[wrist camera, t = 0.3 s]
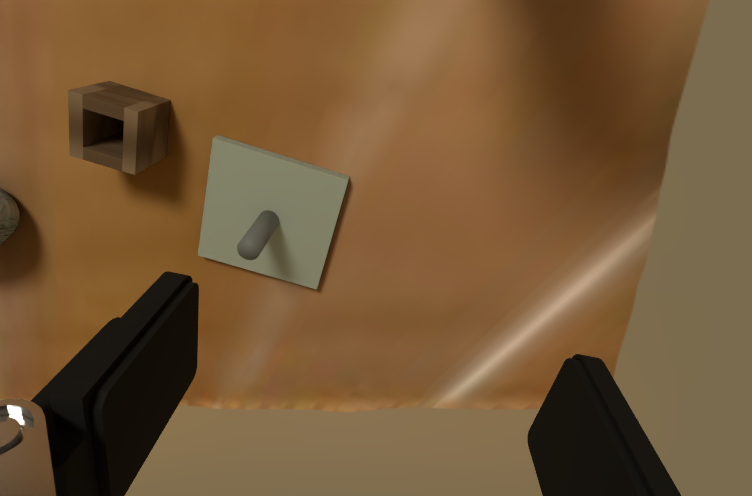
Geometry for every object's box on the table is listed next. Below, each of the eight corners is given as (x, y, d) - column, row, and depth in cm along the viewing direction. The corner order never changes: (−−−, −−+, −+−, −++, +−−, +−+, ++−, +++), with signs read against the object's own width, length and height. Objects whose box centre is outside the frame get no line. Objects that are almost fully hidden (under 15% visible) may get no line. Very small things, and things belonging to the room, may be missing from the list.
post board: (217, 135, 46) (181, 157, 38) (349, 176, 47) (338, 205, 39) (202, 250, 52) (168, 288, 45) (318, 284, 53) (304, 326, 46)
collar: (109, 81, 44) (68, 90, 38) (170, 100, 44) (138, 111, 39) (108, 139, 46) (69, 155, 41) (165, 156, 47) (135, 175, 42)
